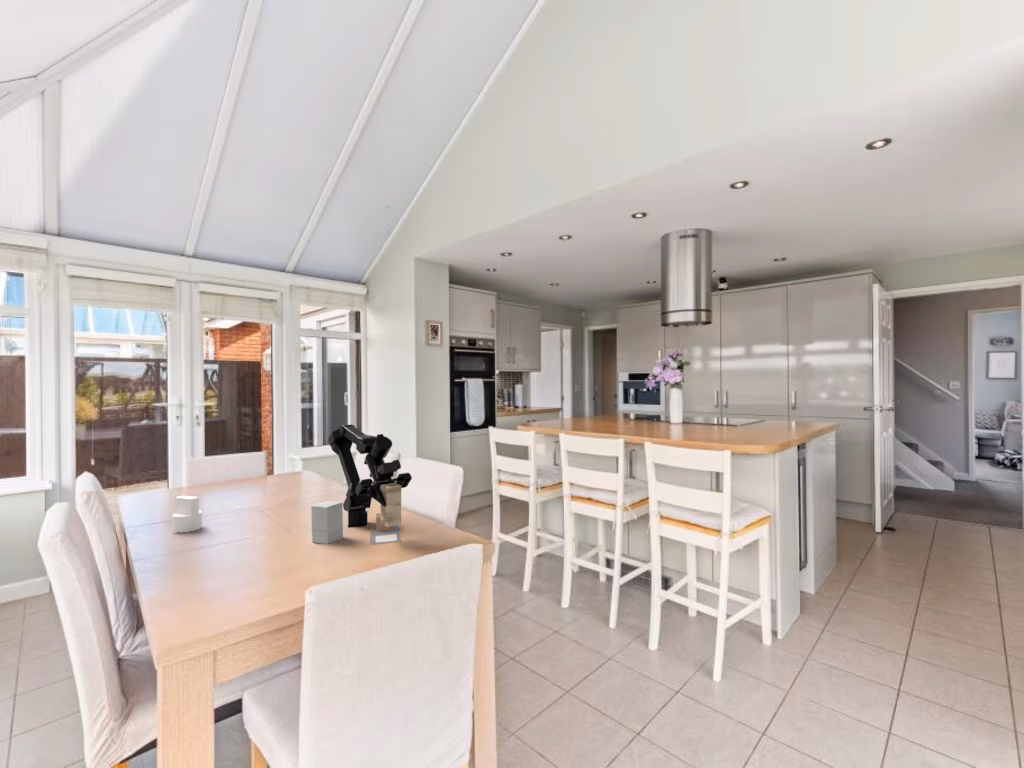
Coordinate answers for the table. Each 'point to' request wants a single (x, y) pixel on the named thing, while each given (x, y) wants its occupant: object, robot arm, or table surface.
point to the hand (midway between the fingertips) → (392, 504)
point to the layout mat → (385, 535)
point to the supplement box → (327, 522)
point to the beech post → (391, 504)
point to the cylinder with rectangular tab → (187, 514)
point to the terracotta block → (378, 524)
